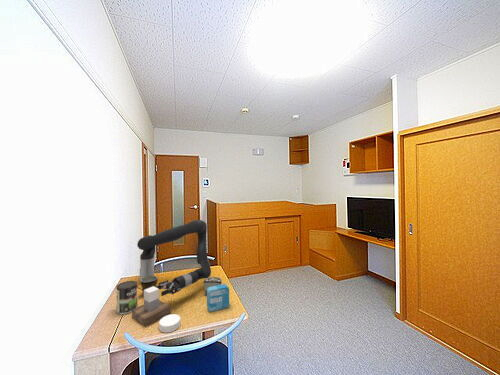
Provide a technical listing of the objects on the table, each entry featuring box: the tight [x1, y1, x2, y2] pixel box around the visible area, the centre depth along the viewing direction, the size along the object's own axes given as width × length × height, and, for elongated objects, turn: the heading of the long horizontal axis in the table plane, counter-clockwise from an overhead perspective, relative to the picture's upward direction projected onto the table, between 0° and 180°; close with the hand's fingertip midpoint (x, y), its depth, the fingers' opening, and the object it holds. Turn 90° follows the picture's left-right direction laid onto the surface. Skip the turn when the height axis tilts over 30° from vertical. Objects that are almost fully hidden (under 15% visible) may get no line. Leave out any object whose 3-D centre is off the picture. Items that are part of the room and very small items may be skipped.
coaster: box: [158, 313, 182, 333], centre depth 108 cm, size 10×10×4 cm
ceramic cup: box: [137, 275, 158, 296], centre depth 139 cm, size 13×10×10 cm
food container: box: [202, 276, 223, 297], centre depth 140 cm, size 12×6×10 cm, turn 84°
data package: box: [206, 283, 230, 313], centre depth 123 cm, size 12×4×12 cm, turn 115°
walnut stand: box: [131, 299, 172, 328], centre depth 117 cm, size 14×14×4 cm
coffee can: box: [116, 280, 138, 315], centre depth 123 cm, size 10×10×14 cm
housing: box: [143, 286, 160, 312], centre depth 117 cm, size 6×6×10 cm
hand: (157, 291), depth 120 cm, fingers open, 8 cm apart
